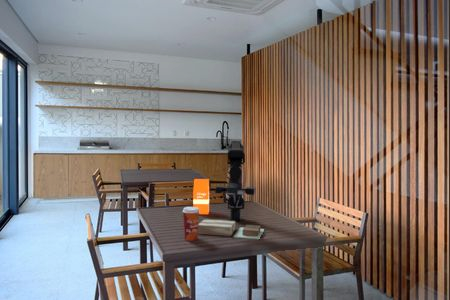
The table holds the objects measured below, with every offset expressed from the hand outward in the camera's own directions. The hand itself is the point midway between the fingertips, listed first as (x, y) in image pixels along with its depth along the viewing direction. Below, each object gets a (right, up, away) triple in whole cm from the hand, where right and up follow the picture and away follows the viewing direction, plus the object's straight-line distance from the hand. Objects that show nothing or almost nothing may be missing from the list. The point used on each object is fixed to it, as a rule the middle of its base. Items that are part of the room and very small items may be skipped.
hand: (235, 208), depth 175 cm
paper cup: (-20, -13, -10) cm, 26 cm away
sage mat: (+7, -12, -1) cm, 14 cm away
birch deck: (-9, -12, +2) cm, 15 cm away
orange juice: (-19, -10, +42) cm, 47 cm away
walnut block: (+8, -9, -2) cm, 12 cm away
